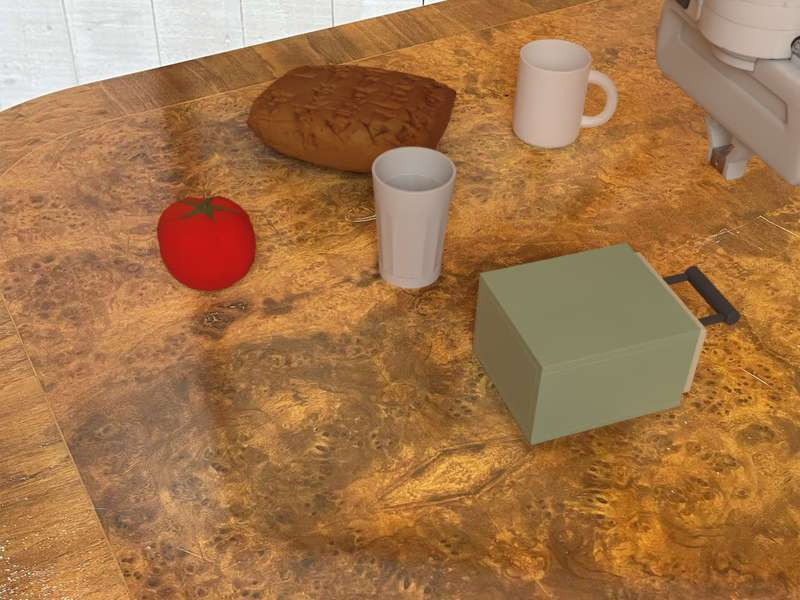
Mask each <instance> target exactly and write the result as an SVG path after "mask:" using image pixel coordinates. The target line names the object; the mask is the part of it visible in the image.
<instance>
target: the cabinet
mask: <svg viewBox="0 0 800 600" xmlns="http://www.w3.org/2000/svg"><path fill="white" fill-rule="evenodd" d="M474 319H475V321H474V329H473V340H472V347H471V348H472V352H473V353H474V354H475V356H476V359H477V360H478V361H479V363H480V365H481V367H482V368H483V370H484V371H485V373H486V374H487V376H488V378H489V379H490V381H491V383H492V385H493V386H494V387H495V389H496V392H497V393H498V394H499V396H500V398H501V399H502V401H503V403H504V404H505V406H506V407H507V409H508V411H509V412H510V414H511V416H512V418H513V420H514V421H515V423H516V424H517V426H518V428H519V429H520V431H521V432H522V434H523V435H524V437H525V440H527V442H528V444H529V446H533V445H537V444H541V443H544V442H549V441H553V440H556V439H560V438H564V437H567V436H571V435H576V434H578V433H583V432H587V431H591V430H594V429H598V428H601V427H606V426H609V425H613V424H618V423H621V422H625V421H628V420H632V419H637V418H640V417H644V416H647V415H648V416H649V415H651V414H654V413H655V414H656V413H659V412H664V411H667V410H671V409H674V408H678V407H680V405H681V402H682V398H683V395H684V393H683V392H684V388H685V385H686V381H687V377H688V374H689V370H690V367H691V363H692V360H693V356H694V353H695V349H696V346H697V342H698V339H699V335H700V332H701V329H700V328H699V327H698V325H697V324H696V323H695V322H694V321H693V320H692V318H691V317H690V316H689V315H688V314H687V313H686V311H685V310H684V309H683V308H682V307H681V306H680V304H679V303H678V302H677V301H676V300H675V299H674V297H673V296H672V295H671V294H670V293H669V292H668V290H667V289H666V288H665V287H664V286H663V285H662V283H661V282H660V281H659V280H658V279H657V278H656V277H655V275H654V274H653V273H652V272H651V271H650V270H649V268H648V267H647V266H646V265H645V264H644V263H643V261H642V260H641V259H640V258H639V257H638V256H637V254H636V252H635V251H634V250H633V249H632V247H631V246H630V245H629V244H628V243H627V242H622V243H617V244H613V245H608V246H604V247H603V246H602V247H598V248H594V249H590V250H585V251H579V252H575V253H570V254H564V255H561V256H556V257H552V258H551V257H550V258H547V259H542V260H536V261H533V262H527V263H523V264H517V265H513V266H509V267H503V268H498V269H494V270H489V271H484V272H480V273H479V279H478V290H477V301H476V310H475V318H474Z"/></svg>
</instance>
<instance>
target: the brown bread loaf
mask: <svg viewBox="0 0 800 600" xmlns="http://www.w3.org/2000/svg"><path fill="white" fill-rule="evenodd" d="M457 95H458V93H457V91H456V89H454V88H452V87H449V86H448V85H447V84H446V83H444V82H440V81H436V80H435V79H434V78H432V77H426V76H423V75H418V74H412V73H409V72H403V71H397V70H390V69H385V68H380V67H379V68H378V67H371V66H361V65H356V64H355V65H352V64H349V65H348V64H338V65H336V64H335V65H334V64H333V65H332V64H327V65H303V66H298V67H295V68H292V69H290V70H289V71H287V72H285V73H284V74H283V75H282V76H280V77H279V78H277V79H276V80H274V81H273V82H272V83H271V84H269V85H268V87H266V88H265V89H264V90H263V91H262V92H261V93H260V94H259V95H257V97H256V98H255V100H254V101H253V102H252V104H251V108H250V111H249V115H248V118H247V121H246V126H247V127H248V128H249V129H250V130H251V131H252V132H253V133H254V134H255V135H256V137H257V138H258V139H259V140H260V141H261V143H262V144H263V145H264V146H266V147H268V148H271V149H272V150H274V151H276V152H277V153H279V154H281V155H284V156H287V157H291V158H294V159H296V160H300V161H303V162H307V163H310V164H313V165H317V166H321V167H326V168H329V169H334V170H339V171H345V172H354V173H367V174H369V173H370V174H372V165H373V162H374V161H375V159H376V158H377V157H378V156H380V155H381V154H383V153H384V152H387V151H389V150H392V149H395V148H400V147H423V148H429V149H432V150H435V149H436V148H437V147H438V145H439V142H440V141H441V139H442V138H443V135H444V133H445V131H446V130H447V128H448V125H449V123H450V121H451V117H452V113H453V109H454V107H455V101H456V98H457Z"/></svg>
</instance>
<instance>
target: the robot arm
mask: <svg viewBox="0 0 800 600" xmlns="http://www.w3.org/2000/svg"><path fill="white" fill-rule="evenodd" d="M660 11H661V12H660V17H659V20H658V24H657V31H656V38H655V44H654V56H655V60H656V66H657V68H658V70H659V71H660V72H661V73H662V74H663V75H664V76H666V77H667V78H668V80H670V81H671V82H672V83H673V84H675V85H676V86H677V87H678V88H679V89H681V91H682V92H683V93H685V94H686V95H687V96H688V97H689V98H691V100H692V101H694V102H695V103H696V104H697V105H699V106H700V108H702V109H703V110H704V111H705V116H704V124H705V131H706V136H707V142H708V144H709V145H708V149H707V154H706V159H705V161H706V162H707V163H708V164H709V165H711V167H712V168H714V169H715V170H716V171H717V172H718V173H719V174H720V175H721V176H722V177H723V178H724V179H725V180H726V181H733V180H738V179H741V178H742V177H743V176H744V175H745V173H746V170H747V167H748V162H749V160H751V159H752V158H753V157H754V156H756V157H757V158H759V160H761V161H762V162H763V163H764V164H765V165H767V167H769V168H770V169H771V170H772V171H773V172H774V173H775V174H776V175H777V176H779V177H780V178H781V179H783V181H784V182H785V183H787V184H788V185H790V186H792V187H798V186H800V0H665V1H664V2H663V5H662V7H661V10H660Z"/></svg>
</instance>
